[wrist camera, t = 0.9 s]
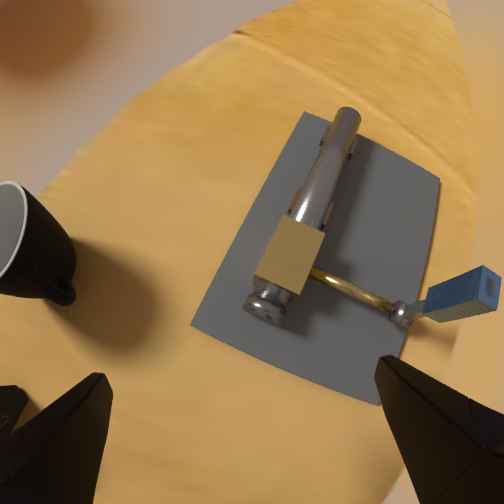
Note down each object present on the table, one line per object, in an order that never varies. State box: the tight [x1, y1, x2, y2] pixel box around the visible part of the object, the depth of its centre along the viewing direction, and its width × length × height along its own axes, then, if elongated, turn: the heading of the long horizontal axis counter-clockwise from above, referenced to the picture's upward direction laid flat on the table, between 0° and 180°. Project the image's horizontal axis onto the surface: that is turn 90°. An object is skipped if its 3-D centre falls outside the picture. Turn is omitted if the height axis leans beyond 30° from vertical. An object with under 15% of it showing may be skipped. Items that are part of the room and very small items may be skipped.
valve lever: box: [389, 265, 501, 329], centre depth 18 cm, size 2×2×12 cm
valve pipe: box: [242, 107, 395, 326], centre depth 25 cm, size 23×12×4 cm, turn 154°
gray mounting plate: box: [190, 111, 440, 406], centre depth 27 cm, size 26×18×1 cm
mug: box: [0, 181, 76, 306], centre depth 21 cm, size 12×9×10 cm
